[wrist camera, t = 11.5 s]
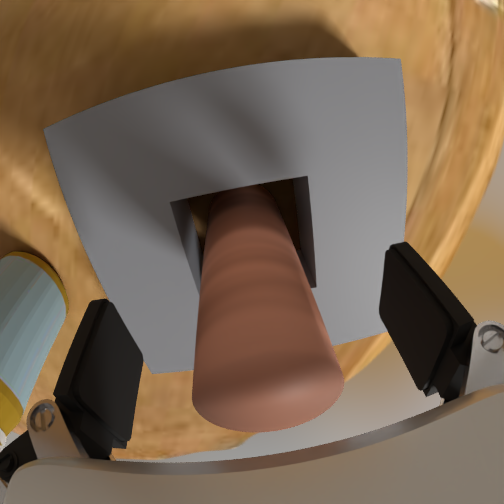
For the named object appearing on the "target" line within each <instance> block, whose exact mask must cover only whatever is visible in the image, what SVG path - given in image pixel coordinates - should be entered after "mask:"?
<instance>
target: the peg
mask: <svg viewBox="0 0 504 504" xmlns="http://www.w3.org/2000/svg"><path fill="white" fill-rule="evenodd" d="M343 387H344V378H343V374H342V371H341V368H340V365H339V363H338V360H337V357H336V354H335V352H334V349H333V346H332V343H331V341H330V338H329V335H328V332H327V330H326V327H325V324H324V322H323V319H322V316H321V314H320V311H319V308H318V306H317V303H316V301H315V298H314V295H313V293H312V290H311V288H310V285H309V283H308V280H307V277H306V275H305V272H304V270H303V267H302V265H301V262H300V260H299V257H298V255H297V252H296V250H295V247H294V245H293V242H292V240H291V238H290V235H289V233H288V230H287V228H286V225H285V223H284V221H283V218H282V216H281V213H280V211H279V209H278V206H277V204H276V202H275V200H274V198H273V196H272V195H271V193H270V192H269V191H268V190H266V189H265V188H264V187H262V186H260V185H258V184H255V185H250V186H244V187H239V188H234V189H229V190H224V191H219V192H218V193H217V194H216V195H215V197H214V198H213V200H212V202H211V204H210V208H209V215H208V223H207V231H206V240H205V248H204V257H203V267H202V276H201V286H200V297H199V308H198V319H197V331H196V344H195V358H194V373H193V390H192V401H193V405H194V407H195V409H196V411H197V412H198V413H199V414H200V415H201V416H202V417H203V418H204V419H206V420H207V421H209V422H211V423H213V424H215V425H217V426H220V427H223V428H226V429H230V430H235V431H242V432H269V431H277V430H282V429H287V428H291V427H294V426H297V425H300V424H303V423H305V422H308V421H310V420H312V419H314V418H316V417H317V416H319V415H321V414H322V413H324V412H325V411H326V410H327V409H329V408H330V407H331V406H332V405H333V404H334V403H335V402H336V401H337V399H338V398H339V396H340V395H341V393H342V390H343Z"/></svg>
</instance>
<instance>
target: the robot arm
mask: <svg viewBox="0 0 504 504" xmlns="http://www.w3.org/2000/svg"><path fill="white" fill-rule="evenodd" d="M379 315H380V318H381V320H382V322H383V324H384V325H385V327H386V329H387V331H388V333H389V335H390V336H391V338H392V340H393V342H394V344H395V346H396V347H397V349H398V351H399V353H400V355H401V357H402V359H403V361H404V363H405V365H406V367H407V368H408V370H409V372H410V374H411V376H412V378H413V380H414V382H415V384H416V386H417V388H418V389H419V390H423V392H424V394H425V396H426V397H427V396H430V395H432V394H434V393H436V392H439V395H440V397H441V402H440V405H439V406H438V407H436V408H434V409H431V410H429V411H426V412H424V413H422V414H419V415H416V416H414V417H411V418H408V419H406V420H403V421H400V422H397V423H395V424H392V425H389V426H386V427H383V428H380V429H378V430H374V431H371V432H368V433H364V434H361V435H358V436H355V437H351V438H347V439H343V440H340V441H336V442H332V443H328V444H324V445H319V446H315V447H310V448H305V449H301V450H296V451H291V452H285V453H279V454H273V455H266V456H259V457H252V458H243V459H234V460H223V461H210V462H186V463H149V462H128V461H127V462H126V461H116V459H115V458H114V456H113V455H112V453H111V452H112V447H113V448H122V449H126V446H127V441H129V440H130V439H131V434H132V427H133V420H134V413H135V407H136V400H137V394H138V388H139V383H140V377H141V372H142V366H143V354H142V352H141V350H140V349H139V347H138V345H137V344H136V342H135V340H134V339H133V337H132V335H131V334H130V332H129V330H128V329H127V327H126V325H125V323H124V322H123V320H122V318H121V316H120V315H119V313H118V311H117V309H116V307H115V305H114V304H113V303H112V302H109V301H108V300H107V299H99V300H93V301H91V302H90V303H89V305H88V307H87V310H86V312H85V314H84V316H83V319H82V321H81V323H80V325H79V328H78V330H77V332H76V335H75V337H74V340H73V342H72V344H71V347H70V349H69V352H68V354H67V357H66V359H65V362H64V365H63V367H62V370H61V373H60V375H59V378H58V381H57V384H56V387H55V390H54V393H53V395H54V396H55V397H56V399H55V402H54V401H52V400H50V399H44V400H41V401H39V402H37V403H36V404H35V405H34V406H33V407H32V408H31V409H30V411H29V413H28V416H27V428H28V430H27V431H26V432H24V433H23V434H22V435H21V436H19V437H18V438H17V439H15V440H14V441H13V442H12V443H10V444H9V445H8V446H7V447H5V448H4V449H3V450H2V451H1V452H0V504H504V326H503V325H502V324H500V323H498V322H495V321H485V322H482V323H480V324H479V325H478V326H477V325H476V324H475V323H474V319H473V318H472V317H471V315H470V314H469V313H468V312H467V310H466V309H465V308H464V306H463V305H462V304H461V303H460V302H459V300H458V299H457V298H456V296H455V295H454V294H453V293H452V292H451V290H450V289H449V288H448V287H447V286H446V285H445V283H444V282H443V281H442V280H441V279H440V278H439V276H438V275H437V274H436V273H435V272H434V271H433V270H432V268H431V267H430V266H429V265H428V264H427V263H426V262H425V261H424V260H423V258H422V257H421V256H420V255H419V254H418V253H417V252H416V251H415V250H414V249H413V248H412V247H411V246H410V245H409V243H407V242H401V243H396V244H392V245H390V247H389V250H386V252H385V259H384V269H383V279H382V287H381V296H380V303H379Z"/></svg>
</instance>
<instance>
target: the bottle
mask: <svg viewBox="0 0 504 504" xmlns="http://www.w3.org/2000/svg"><path fill="white" fill-rule="evenodd" d="M68 310H69V308H68V297H67V294H66V291H65V289H64V286H63V283H62V282H61V280H60V278H59V277H58V275H57V273H56V272H55V271H54V270H53V269H52V268H51V267H50V266H49V265H48V264H47V263H46V262H44V261H43V260H42V259H40V258H39V257H37V256H34V255H32V254H29V253H25V252H11V253H9V254H6V255H5V256H4V257H3V258H2V259H1V260H0V452H1V451H2V448H3V447H4V446H5V443H6V440H7V438H6V436H7V435H8V434H9V433H10V432H11V431H12V430H13V429H14V428H15V427H16V425H17V424H18V423H19V422H20V420H21V417H22V415H23V413H24V410H25V407H26V405H27V402H28V400H29V397H30V395H31V392H32V390H33V387H34V385H35V382H36V380H37V378H38V375H39V373H40V371H41V368H42V366H43V364H44V362H45V360H46V357H47V355H48V353H49V351H50V349H51V347H52V345H53V343H54V340H55V338H56V336H57V334H58V332H59V330H60V328H61V326H62V324H63V322H64V320H65V318H66V316H67V313H68Z"/></svg>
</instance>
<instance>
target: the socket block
mask: <svg viewBox="0 0 504 504" xmlns="http://www.w3.org/2000/svg"><path fill="white" fill-rule="evenodd" d="M43 131H44V134H45V138H46V142H47V145H48V149H49V152H50V156H51V159H52V162H53V166H54V169H55V172H56V175H57V178H58V181H59V184H60V187H61V190H62V193H63V195H64V198H65V201H66V204H67V206H68V209H69V212H70V214H71V217H72V219H73V222H74V224H75V227H76V229H77V232H78V234H79V237H80V239H81V241H82V244H83V246H84V248H85V251H86V253H87V255H88V257H89V259H90V262H91V264H92V266H93V268H94V270H95V272H96V274H97V277H98V279H99V281H100V283H101V285H102V287H103V289H104V291H105V293H106V295H107V297H108V299H109V301H110V302H112V303H113V304H114V305H115V307H116V309H117V311H118V313H119V315H120V316H121V318H122V320H123V322H124V323H125V325H126V327H127V329H128V330H129V332H130V334H131V335H132V337H133V339H134V340H135V342H136V344H137V345H138V347H139V349H140V350H141V352H142V354H143V360H144V362H145V363H146V365H147V366H148V368H149V370H150V371H151V373H152V374H157V373H169V372H180V371H189V370H194V358H195V344H196V331H197V319H198V308H199V297H200V286H201V276H202V267H203V257H204V256H203V253H202V249H201V246H200V242H199V239H198V235H197V231H196V228H195V224H194V221H193V217H192V213H191V210H190V206H189V202H188V198H190V197H195V196H199V195H204V194H209V193H214V192H219V191H224V190H229V189H234V188H239V187H244V186H250V185H255V184H261V183H266V182H272V181H278V180H284V179H290V178H293V186H294V194H295V202H296V211H297V220H298V229H299V238H300V248H301V249H300V250H296V252H297V255H298V257H299V260H300V262H301V265H302V267H303V270H304V272H305V275H306V277H307V280H308V283H309V285H310V288H311V290H312V293H313V295H314V298H315V301H316V303H317V306H318V308H319V311H320V314H321V316H322V319H323V322H324V324H325V327H326V330H327V332H328V335H329V338H330V341H331V343H332V346H334V345H338V344H342V343H347V342H351V341H354V340H358V339H362V338H366V337H370V336H373V335H377V334H380V333H384V332H387V329H386V327H385V325H384V324H383V322H382V320H381V318H380V315H379V303H380V296H381V287H382V279H383V269H384V259H385V252H386V250H389V247H390V245H392V244H396V243H401V242H404V232H405V219H406V201H407V125H406V108H405V95H404V84H403V75H402V67H401V59H394V58H372V57H334V58H312V59H297V60H286V61H277V62H268V63H260V64H253V65H246V66H240V67H234V68H228V69H223V70H218V71H213V72H208V73H203V74H199V75H194V76H190V77H186V78H182V79H178V80H174V81H170V82H166V83H163V84H159V85H156V86H152V87H149V88H146V89H142V90H139V91H136V92H133V93H130V94H127V95H124V96H121V97H118V98H115V99H113V100H110V101H107V102H104V103H102V104H99V105H97V106H94V107H92V108H89V109H87V110H84V111H82V112H79V113H77V114H75V115H72V116H70V117H68V118H66V119H63V120H61V121H59V122H57V123H55V124H53V125H50V126H48V127H46V128H44V129H43Z"/></svg>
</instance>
